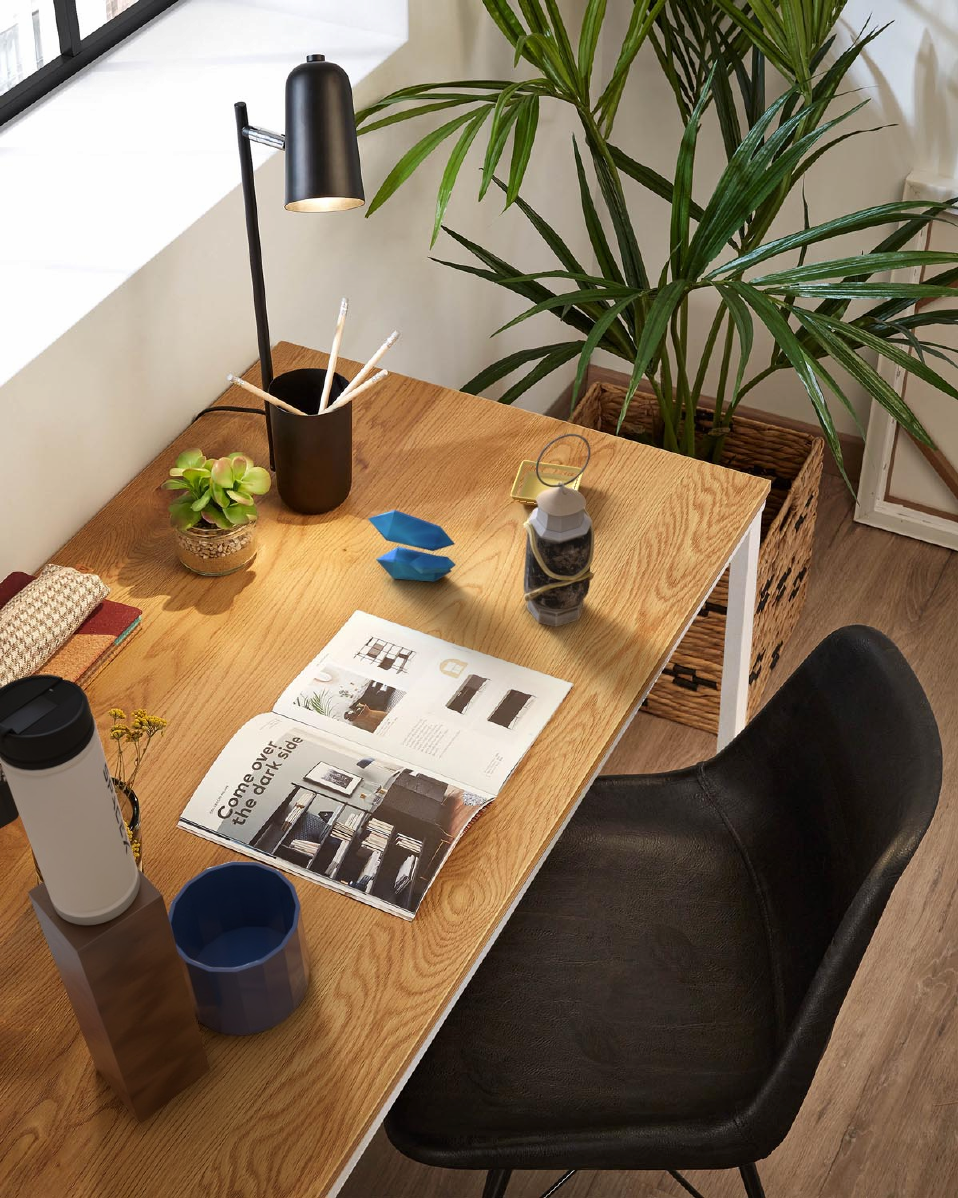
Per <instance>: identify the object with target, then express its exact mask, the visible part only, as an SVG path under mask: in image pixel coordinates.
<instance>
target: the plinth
mask: <svg viewBox="0 0 958 1198" xmlns="http://www.w3.org/2000/svg"><path fill="white" fill-rule="evenodd" d="M137 869H138V873H139V877H140V886H139V891H138V893H137V896H136V898H135V899H134V901H133V902H132V904H131V905H130V906H129V907H128V908H127V909H126V910H125V911H124V912H123V913H121V914H120V915H119V916H117V917H115V918H114V919H112V920H109V921H107V922H104V923H101V924H96V925H77V924H74V923H71V922H68V921H66V920H65V919H63V918H62V917H61V916H60V915H58V913H57V912H56V910H55V909H54V906H53V904H52V901H51V898H50V895H49V893H48V890H47V887H46V885H45V882H44V881H42V882H41V883H39V884H37V885H36V886H34V887H33V888H31V889H29V890H28V891H27V893H28V897H29V899H30V901H31V904H32V907H33V910H34V912H35V914H36V917H37V920H38V922H39V925H40V927H41V931H42V933H43V935H44V938H45V939H46V943H47V945H48V948H49V951H50V953H51V956H52V959H53V961H54V964H55V966H56V969H57V971H58V975H59V977H60V979H61V982H62V984H63V987H64V989H65V992H66V995H67V998H68V1000H69V1003H70V1005H71V1007H72V1011H73V1013H74V1015H75V1018H76V1021H77V1024H78V1027H79V1028H80V1031H81V1033H82V1036H83V1039H84V1041H85V1044H86V1046H87V1049H88V1051H89V1055H90V1058H91V1059H92V1062H93V1065H94V1067H95V1069H96V1070H97V1071H98V1073H99V1074H100V1075H101V1077H102V1078H103V1079H104V1080H105V1082H106V1083H107V1085H108V1086H109V1087H110V1088H111V1090H112V1091H113V1092H114V1093H115V1095H116V1096H117V1097H118V1099H119V1100H120V1101H121V1102H122V1104H123V1105H124V1107H125V1108H126V1109H127V1110H128V1111H129V1113H130V1114H131V1115H132V1117H133V1118H134V1119H135V1120H136V1122H137V1123H138V1125H141V1124H142V1123H143V1122H145V1121H146V1120H147V1119H148V1118H149V1117H151V1116H152V1115H153V1114H155V1113H156V1112H157V1111H159V1110H160V1109H162V1107H164V1106H165V1105H167V1104H168V1103H169V1102H170V1101H172V1100H173V1099H174V1098H176V1097H177V1096H179V1094H181V1093H182V1092H183V1091H185V1090H186V1089H187V1088H188V1087H190V1086H191V1085H192V1084H194V1083H195V1082H196V1081H198V1080H199V1079H200V1078H202V1077H203V1076H204V1075H206V1074H207V1073H208V1072H209V1071H211V1069H210V1065H209V1060H208V1058H207V1054H206V1051H205V1047H204V1043H203V1038H202V1035H201V1032H200V1028H199V1024H198V1021H197V1018H196V1017H195V1013H194V1010H193V1006H192V1002H191V998H190V995H189V991H188V987H187V984H186V980H185V976H184V973H183V969H182V965H181V962H180V958H179V954H178V951H177V947H176V943H175V940H174V936H173V932H172V929H171V925H170V921H169V917H168V914H169V913H168V910H167V906H166V903H165V899H164V895H163V893H162V892H161V891H160V890H159V889H158V888H157V887H156V886H155V884H154V883H153V882H152V881H151V880H150V879H149V878H148V877H147V876H146V875H145V874H144V873H143V872H142V870H141V869H140V868H139V867H138V866H137Z"/></svg>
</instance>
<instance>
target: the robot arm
mask: <svg viewBox="0 0 958 1198" xmlns="http://www.w3.org/2000/svg"><path fill="white" fill-rule="evenodd" d="M19 816H20V814H19V812H18V809H17V806H16V803H15V801H14V798H13V795H12V793H11V790H10V787H9V784H8V782H7V779H6V776H5V773H4V771H3V768H2V766H0V830H1V829H3V828H4V827H6V826H8V825H9V824H11V823H13V822H15V821H16V820H17V819H18V818H19Z"/></svg>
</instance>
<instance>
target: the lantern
mask: <svg viewBox="0 0 958 1198" xmlns="http://www.w3.org/2000/svg"><path fill="white" fill-rule="evenodd" d="M568 437H577V438H578V439H579V438H580V439H581V440H583V441H584V443H585V445H586V447H587V458H586V461H585V464H584V465H583V467H582V468H581V469H582V470H581V471H580V473H579V474H578V475H577V476H575V477H574V478H573V479H571V480H570V481H568V482H566V483H563V482H561V481H560V482H559V483H558V485H550V484H547V483H545V482H544V481H542V480H541V478H540V476H539V473H538V465H539V462H541V459H542V456H543V455H544V453H545V452H546V450H547V449H548V448H549V447H550V446H552V445H553V444H554V443H555V442H557V441H559V440H561V439H564V438H568ZM590 459H591V447H590V443H589V441H588V440H587V439H586V438H585V437H584V436H582V435H580V434H576V433H566V434H563V435H560V436H558V437H556V438H554V439H553V440H551V441H550V442H549V443H548V444H547V445H546V446H544V448H543V449H542V450H541V452H540V454H539V455H538V458H537V461H536V462H537V463H536V474H537V477H538V479H539V481H540V482H541V483H542V484H544V485H546V486H549V487H555V488H551V489H548V490H545V491H543V492H541V493H540V494H539V495H538V496H537V498H536V502H537V504H538V506H536V507H535V508H533V509H532V510H531V512H530V513H529V515H528V516H527V518H526V520H525V522H524V523H523V529H525V530H526V545H525V556H524V557H525V558H524V573H523V590H522V591H523V597H524V600H525V602H527V605H526V608H527V610H528V611H529V612H530V614H531V615H532V616H533V618H534V619H535V620H536V622H537V623H539V624H544V625H546V626H551V627H555V628H557V627H560V626H563V625H566V624H569V623H572V622H576V621H579V620H580V617H581V615H582V612H583V610H584V605H585V602H584V600H585V598H586V597H587V595H588V594H589V590H590V587H591V586H590V585H591V580H593V579H594V577H595V572H591V565H592V563H593V561H594V560H593V559H594V553H595V526H594V523H593V521H592V518H591V515H590V514H589V512H588V510H587V509H586V505H587V500H586V498H585V497H584V495H583V494H582V493H581V492H580V491H579V490H578V491H577V490H575V489H573V488H570V487H565V485H567V484H569V483H571V482H573V481H574V480H575V479H576V478H578V477H579V476H580V475H581V474H582V472H583V471H584V472H585V470H586V468H587V466H588V464H589V461H590ZM584 472H583V473H584Z"/></svg>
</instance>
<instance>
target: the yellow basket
mask: <svg viewBox="0 0 958 1198" xmlns="http://www.w3.org/2000/svg"><path fill="white" fill-rule="evenodd" d="M536 463H537V461H534V460H528V459H524V460H522V461H521V463H520V466H519V468H518V471H517V474H516V477H515V480H514V483H513V484H512V485H513V486H512V488H511V491H510V494H509V495H510V497H511V498H512V499H513V500H514V501H515V500H519V501H516V502H517V503H519V504H522V505H527V506H535V507H538V504H534V503H537V502H536V498H537V496H538V495H539V494H540V493H541V492H543V491H545V490H548V489H551V488H555V487H549V486H546V485H544V484H542V483H541V482H540V481H539V479H538V477H537V474H536V472H535V471H527V472H526V475H525V478H524V481H523V484H522V487H521V490H520V492H519V495H518V496H516V494H517V491H518V488H519V484H520V480H521V477H522V474H523V470H524V467H525V465H532V466H536ZM538 467H547V468H552V469H559V470H562V471H566V472H569V473H580V471H581V470H582V469H583V468H581V467H577V466H571V465H570V466H569V465H563V464H555V463H549V462H542V461H539V465H538ZM584 472H585V470H584V471H583V472H582V474H581V475H580V476H579V478H578V481H577V484H576V487H575V490H577V491H578V492H579V490H580V486H581V484H582V483H581V482H582V479H583V475H584ZM538 473H539V476H540V478H541V480H542V481H544V482H545V483H547V484H550V485H558V483H559V482H560V481H561V482H563V483H566V482H568V481H570V480H571V479H573V478H574V476H567V475H559V474H551V473H543V472H538ZM576 479H577V478H576ZM576 479H575V480H574V481H573V482H571V483H569V484H567V485H565V487H570V488H573V489H574V486H575V483H576ZM520 501H526V502H520ZM527 502H534V503H527Z"/></svg>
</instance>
